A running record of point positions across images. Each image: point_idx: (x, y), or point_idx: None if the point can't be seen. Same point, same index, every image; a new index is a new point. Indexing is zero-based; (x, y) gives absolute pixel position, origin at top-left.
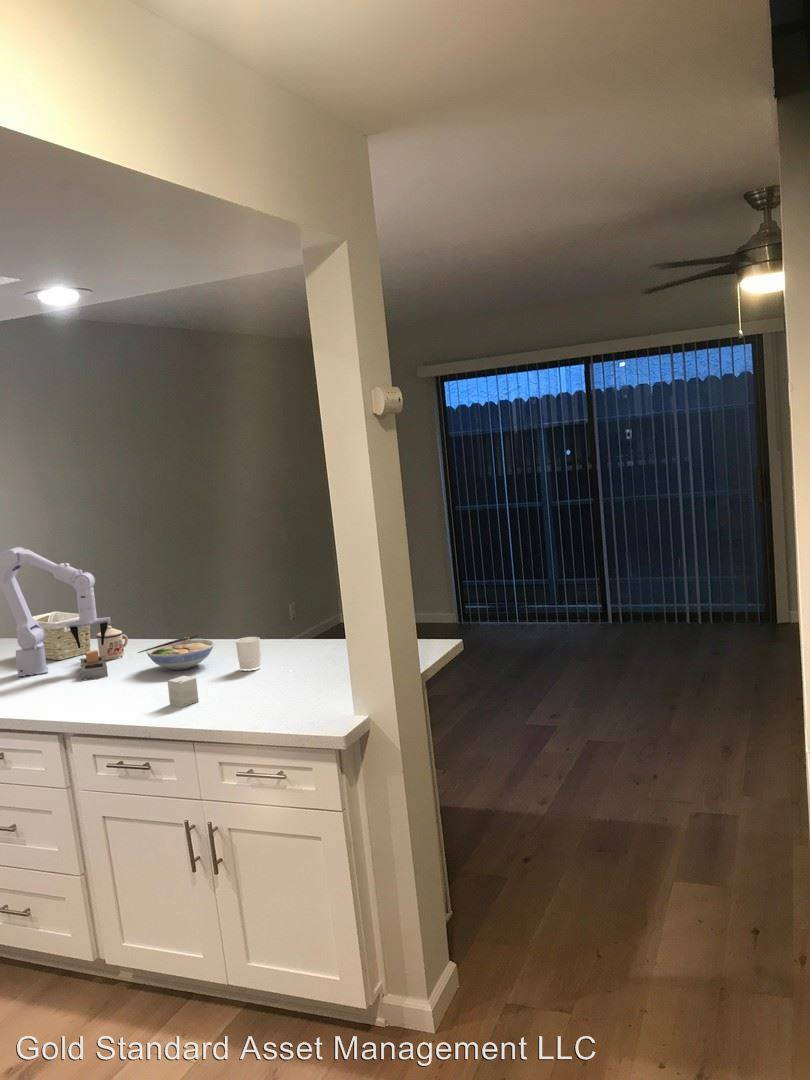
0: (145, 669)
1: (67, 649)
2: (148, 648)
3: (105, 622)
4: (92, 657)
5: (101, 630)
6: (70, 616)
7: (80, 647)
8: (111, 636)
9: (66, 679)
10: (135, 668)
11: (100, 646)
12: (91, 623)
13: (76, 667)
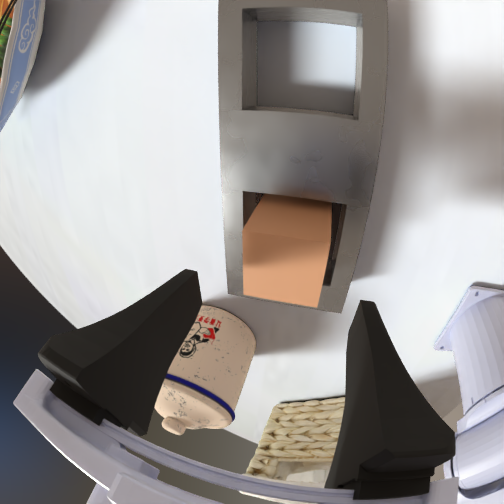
0: (89, 52)
1: (335, 420)
2: (5, 55)
3: (65, 405)
4: (290, 219)
5: (109, 345)
6: None
7: (295, 419)
8: (167, 376)
9: (454, 90)
10: (117, 86)
11: (234, 369)
12: (121, 474)
13: (359, 296)
